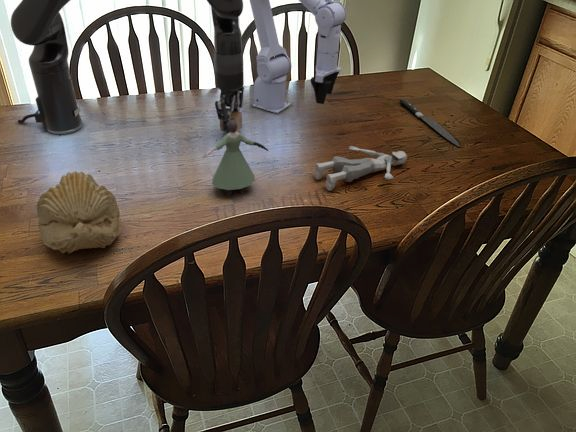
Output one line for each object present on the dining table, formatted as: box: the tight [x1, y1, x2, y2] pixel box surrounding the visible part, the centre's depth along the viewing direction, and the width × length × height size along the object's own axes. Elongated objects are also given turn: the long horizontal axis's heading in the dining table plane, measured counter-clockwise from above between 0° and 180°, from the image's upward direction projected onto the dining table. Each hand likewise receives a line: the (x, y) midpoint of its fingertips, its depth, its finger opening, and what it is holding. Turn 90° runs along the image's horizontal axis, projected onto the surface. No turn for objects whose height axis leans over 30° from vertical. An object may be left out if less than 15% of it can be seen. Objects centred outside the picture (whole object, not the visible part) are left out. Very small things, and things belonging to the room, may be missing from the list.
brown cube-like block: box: [219, 111, 243, 132], centre depth 140 cm, size 5×4×5 cm
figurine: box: [313, 145, 408, 192], centre depth 125 cm, size 18×5×25 cm
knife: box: [398, 98, 461, 147], centre depth 152 cm, size 32×4×1 cm, turn 20°
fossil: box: [36, 170, 122, 254], centre depth 97 cm, size 15×17×15 cm
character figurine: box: [202, 120, 270, 196], centre depth 113 cm, size 16×8×18 cm, turn 114°
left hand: (231, 127), depth 141 cm, fingers closed on brown cube-like block, 4 cm apart
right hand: (323, 98), depth 143 cm, fingers open, 7 cm apart
